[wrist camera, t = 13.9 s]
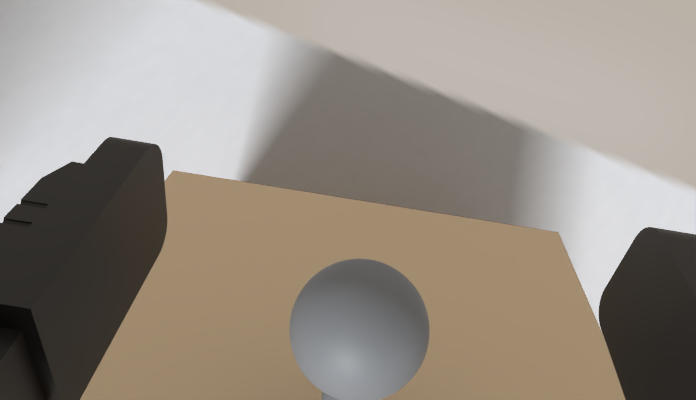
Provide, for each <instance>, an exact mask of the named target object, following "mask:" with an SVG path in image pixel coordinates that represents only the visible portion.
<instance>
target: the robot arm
mask: <svg viewBox="0 0 696 400" xmlns="http://www.w3.org/2000/svg"><path fill="white" fill-rule="evenodd" d="M166 231H167V206H166V194H165V183H164V172H163V160H162V153H161V150H160V148H159V146H158V145H156V144H150V143H144V142H138V141H132V140H126V139H120V138H114V137H109V138H107V139H106V140H105V141H104V142H103V143H102V144H101V145H100V146H99V147H98V148H97V150H96V151H95V152H94V153H93V154H92V155H91V156H90V158H89V159H88V160H87V161H86V162H85V163H84V164H82V163H76V162H71V163H69V164H67V165H65V166H63V167H61V168H60V169H58V170H56V171H54V172H52V173H50V174H48V175H46V176H45V177H43V178H41V179H40V180H39V181H38V182H37V183H36V185H35V186H34V187H33V188H32V189H31V190H30V191H29V192H28V193H27V194H26V195H25V196H24V197H23V198H22V199H21V204H17V205H16V206H15V207H14V208H13V209H12V210H11V211H10V212H9V213H8V214H7V215H6V216H5V217H4V221H3V223H0V400H80V399H81V397H82V395H83V393H84V391H85V390H86V388H87V386H88V384H89V382H90V380H91V379H92V377H93V375H94V373H95V371H96V369H97V368H98V366H99V364H100V362H101V360H102V358H103V357H104V355H105V353H106V351H107V349H108V347H109V346H110V344H111V342H112V340H113V338H114V336H115V335H116V333H117V331H118V329H119V327H120V325H121V324H122V322H123V320H124V318H125V316H126V314H127V313H128V311H129V309H130V307H131V305H132V303H133V302H134V300H135V298H136V296H137V294H138V292H139V291H140V289H141V287H142V285H143V283H144V281H145V280H146V278H147V276H148V274H149V272H150V270H151V268H152V267H153V265H154V263H155V261H156V259H157V257H158V256H159V254H160V252H161V249H162V247H163V244H164V240H165V236H166ZM599 322H600V326H601V330H602V333H603V336H604V338H605V341H606V344H607V347H608V350H609V353H610V356H611V359H612V362H613V365H614V367H615V370H616V373H617V376H618V379H619V382H620V385H621V388H622V391H623V394H624V397H625V399H626V400H696V235H694V234H688V233H682V232H676V231H670V230H664V229H658V228H652V227H648V228H645V229H643V230H642V231H640V233H639V234H638V235H637V236H636V238H635V239H634V241H633V243H632V244H631V246H630V248H629V249H628V251H627V253H626V254H625V256H624V258H623V259H622V261H621V263H620V264H619V266H618V268H617V269H616V271H615V273H614V274H613V276H612V278H611V279H610V281H609V283H608V284H607V286H606V288H605V290H604V292H603V294H602V297H601V300H600V305H599Z"/></svg>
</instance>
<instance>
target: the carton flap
mask: <svg viewBox="0 0 696 400" xmlns="http://www.w3.org/2000/svg"><path fill="white" fill-rule="evenodd" d="M164 183H165V194H166V206H167V231H166V236H165V240H164V244H163V247H162V249H161V252H160V254H159V256H158V257H157V259H156V261H155V263H154V265H153V267H152V268H151V270H150V272H149V274H148V276H147V278H146V280H145V281H144V283H143V285H142V287H141V289H140V291H139V292H138V294H137V296H136V298H135V300H134V302H133V303H132V305H131V307H130V309H129V311H128V313H127V314H126V316H125V318H124V320H123V322H122V324H121V325H120V327H119V329H118V331H117V333H116V335H115V336H114V338H113V340H112V342H111V344H110V346H109V347H108V349H107V351H106V353H105V355H104V357H103V358H102V360H101V362H100V364H99V366H98V368H97V369H96V371H95V373H94V375H93V377H92V379H91V380H90V382H89V384H88V386H87V388H86V390H85V391H84V393H83V395H82V397H81V399H80V400H626V399H625V397H624V394H623V391H622V388H621V385H620V382H619V379H618V376H617V373H616V370H615V367H614V365H613V362H612V359H611V356H610V353H609V350H608V347H607V344H606V341H605V339H604V336H603V334H602V332H601V329H600V327H599V325H598V323H597V320H596V318H595V316H594V313H593V311H592V309H591V307H590V304H589V302H588V300H587V297H586V295H585V293H584V290H583V288H582V286H581V284H580V281H579V279H578V277H577V274H576V272H575V270H574V268H573V265H572V263H571V261H570V258H569V256H568V254H567V252H566V249H565V247H564V245H563V242H562V240H561V238H560V236H559V233H558V232H552V231H546V230H540V229H534V228H528V227H521V226H515V225H509V224H503V223H496V222H490V221H484V220H478V219H472V218H465V217H459V216H453V215H447V214H440V213H434V212H428V211H422V210H416V209H409V208H403V207H397V206H391V205H384V204H378V203H372V202H366V201H360V200H353V199H347V198H341V197H335V196H329V195H322V194H316V193H310V192H304V191H297V190H291V189H285V188H279V187H273V186H266V185H260V184H254V183H248V182H241V181H235V180H229V179H223V178H217V177H210V176H204V175H198V174H192V173H185V172H179V171H172V173H171V174H170V175H169V176H168V178H167V179H166V180H165V182H164Z"/></svg>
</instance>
